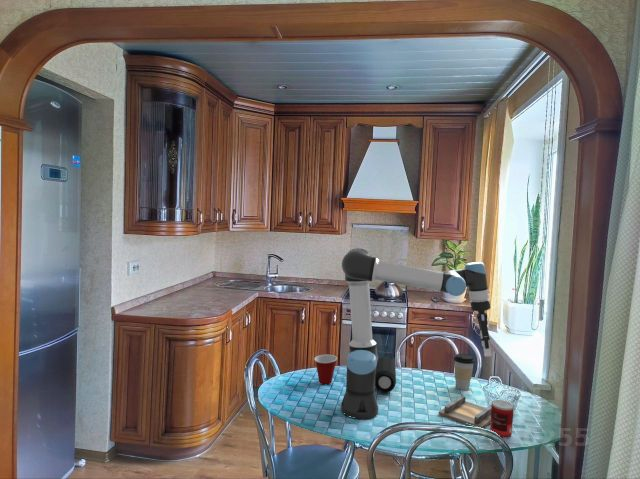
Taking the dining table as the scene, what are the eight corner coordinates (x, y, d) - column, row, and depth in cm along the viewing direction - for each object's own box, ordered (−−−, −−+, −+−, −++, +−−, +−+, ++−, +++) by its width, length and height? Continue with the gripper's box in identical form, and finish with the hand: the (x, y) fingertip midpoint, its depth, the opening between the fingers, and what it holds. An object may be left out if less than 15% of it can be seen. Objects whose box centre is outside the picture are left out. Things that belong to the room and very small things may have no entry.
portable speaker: (374, 373, 234) (375, 354, 234) (394, 375, 233) (395, 355, 232) (373, 393, 209) (374, 371, 209) (395, 395, 208) (396, 373, 207)
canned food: (506, 427, 180) (508, 399, 180) (515, 438, 172) (517, 408, 172) (486, 427, 180) (488, 399, 179) (494, 437, 172) (496, 408, 171)
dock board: (481, 429, 178) (482, 420, 178) (438, 414, 190) (438, 405, 190) (500, 415, 191) (500, 406, 191) (458, 401, 203) (458, 393, 203)
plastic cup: (310, 379, 223) (311, 354, 222) (331, 377, 226) (332, 353, 226) (317, 388, 213) (318, 362, 212) (339, 386, 216) (340, 360, 215)
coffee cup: (450, 388, 218) (451, 357, 217) (454, 382, 226) (456, 351, 225) (471, 393, 214) (473, 360, 213) (474, 386, 222) (476, 355, 221)
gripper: (492, 305, 180) (499, 360, 180) (486, 293, 204) (493, 341, 204) (471, 307, 182) (479, 361, 182) (468, 295, 206) (475, 342, 206)
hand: (486, 350), depth 193 cm, fingers open, 13 cm apart
